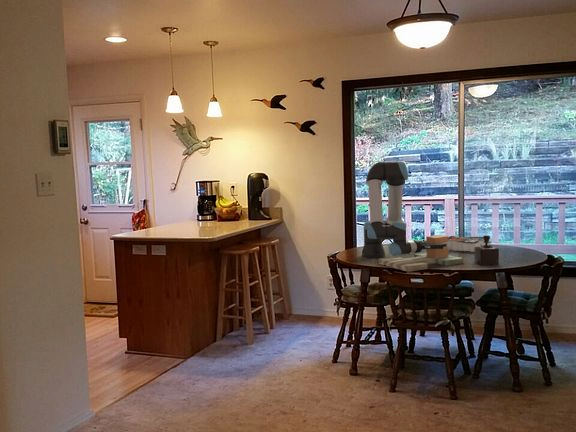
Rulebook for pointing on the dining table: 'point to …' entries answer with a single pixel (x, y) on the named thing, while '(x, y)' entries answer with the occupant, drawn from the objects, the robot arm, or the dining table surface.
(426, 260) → the board
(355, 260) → the dining table surface
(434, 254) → the terracotta block
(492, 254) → the brown manual coffee grinder
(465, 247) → the food packaging
